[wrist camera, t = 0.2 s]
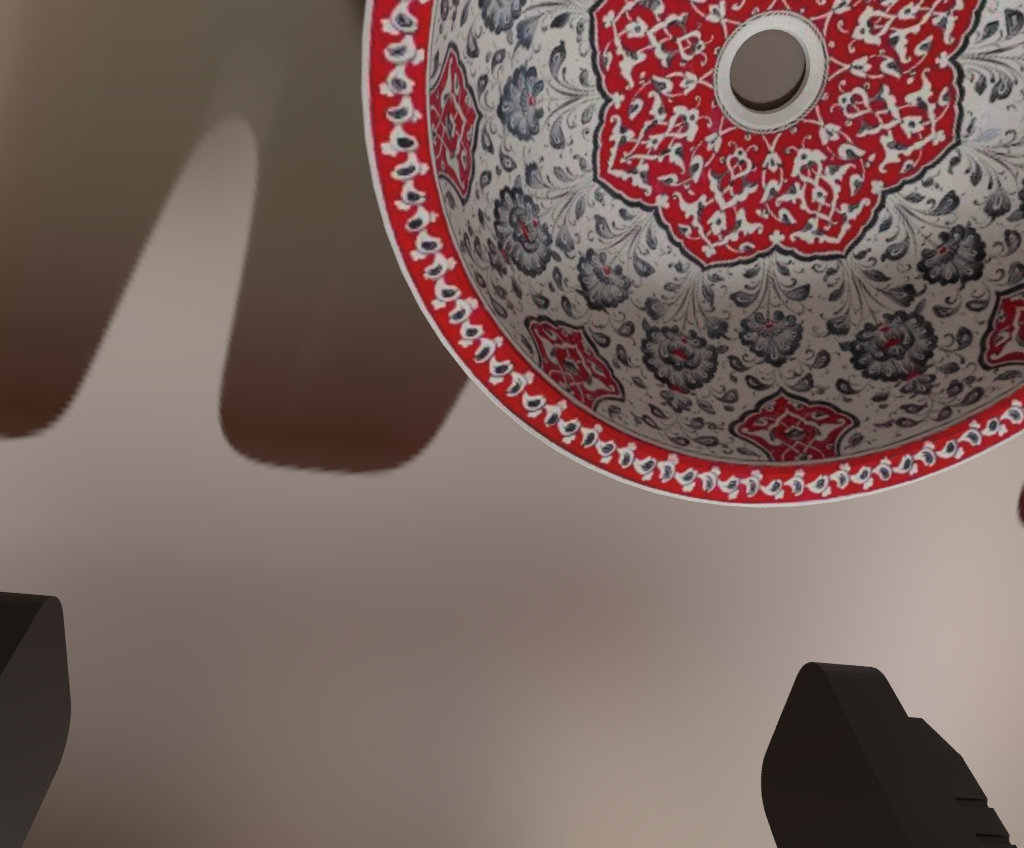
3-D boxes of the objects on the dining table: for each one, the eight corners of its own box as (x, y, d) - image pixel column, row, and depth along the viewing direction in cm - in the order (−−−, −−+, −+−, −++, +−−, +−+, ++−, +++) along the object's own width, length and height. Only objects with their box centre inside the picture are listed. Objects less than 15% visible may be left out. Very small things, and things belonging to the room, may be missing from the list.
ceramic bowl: (1150, -622, 27) (1400, -816, 20) (1163, 280, 40) (1314, 355, 33) (233, -212, 30) (166, -253, 23) (531, 493, 44) (547, 603, 36)
